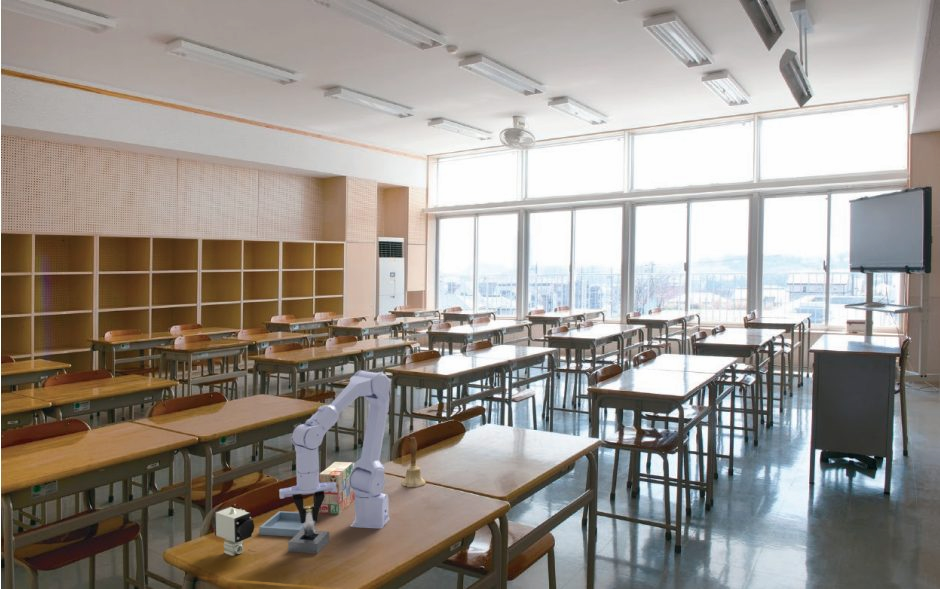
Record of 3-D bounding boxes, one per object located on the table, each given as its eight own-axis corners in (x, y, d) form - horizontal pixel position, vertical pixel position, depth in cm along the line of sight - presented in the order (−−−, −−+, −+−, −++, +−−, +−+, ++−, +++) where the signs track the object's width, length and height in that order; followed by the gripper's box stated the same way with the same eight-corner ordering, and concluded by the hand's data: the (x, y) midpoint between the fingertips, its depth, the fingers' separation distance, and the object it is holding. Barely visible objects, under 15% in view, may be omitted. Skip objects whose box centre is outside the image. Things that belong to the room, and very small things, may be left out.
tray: (317, 521, 191) (317, 513, 191) (299, 538, 179) (299, 529, 179) (279, 519, 193) (279, 511, 193) (259, 536, 182) (259, 527, 181)
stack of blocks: (346, 489, 219) (345, 453, 219) (363, 490, 218) (363, 454, 218) (319, 513, 198) (318, 473, 198) (339, 514, 197) (338, 474, 197)
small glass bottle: (316, 531, 175) (315, 505, 174) (311, 535, 172) (311, 509, 172) (306, 531, 175) (305, 505, 175) (301, 535, 172) (301, 509, 172)
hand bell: (404, 479, 229) (403, 434, 228) (427, 480, 228) (427, 434, 227) (398, 487, 221) (398, 440, 220) (422, 488, 220) (422, 441, 219)
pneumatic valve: (240, 562, 165) (239, 515, 165) (212, 551, 172) (210, 506, 171) (258, 554, 170) (257, 508, 169) (230, 544, 176) (228, 500, 176)
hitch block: (329, 542, 177) (329, 531, 177) (317, 555, 169) (317, 544, 169) (301, 540, 178) (301, 529, 178) (288, 553, 170) (288, 541, 170)
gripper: (332, 462, 179) (334, 511, 180) (277, 469, 174) (279, 519, 174) (337, 470, 172) (338, 520, 173) (280, 477, 167) (281, 529, 168)
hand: (308, 520), depth 173 cm, fingers closed on small glass bottle, 3 cm apart
